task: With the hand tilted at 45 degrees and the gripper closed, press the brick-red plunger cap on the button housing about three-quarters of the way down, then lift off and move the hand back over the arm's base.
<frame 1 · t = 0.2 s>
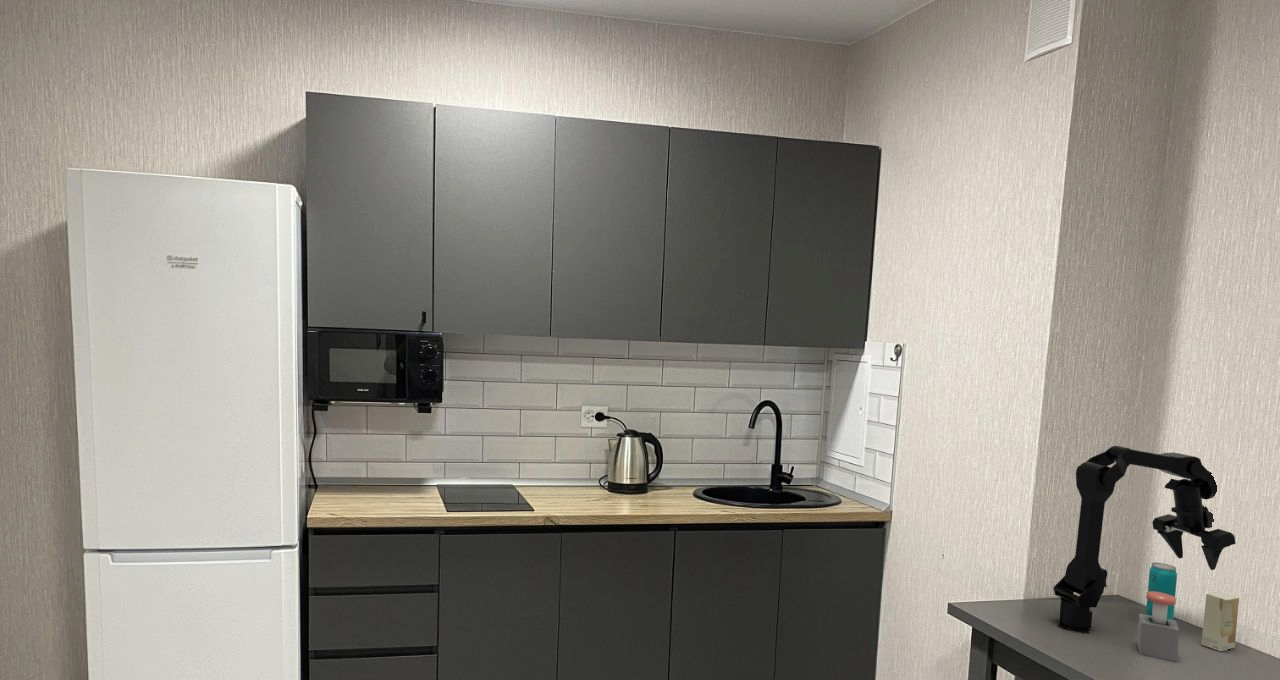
hand: (1196, 563, 200), 16 cm above the table, tool pointing down, fingers open, 9 cm apart
skincare box: (1217, 647, 187), on the table
button housing: (1156, 652, 181), on the table
red plunger: (1159, 611, 181), point 9 cm above the table, slide at 0.0 cm
beverage can: (1158, 625, 199), on the table
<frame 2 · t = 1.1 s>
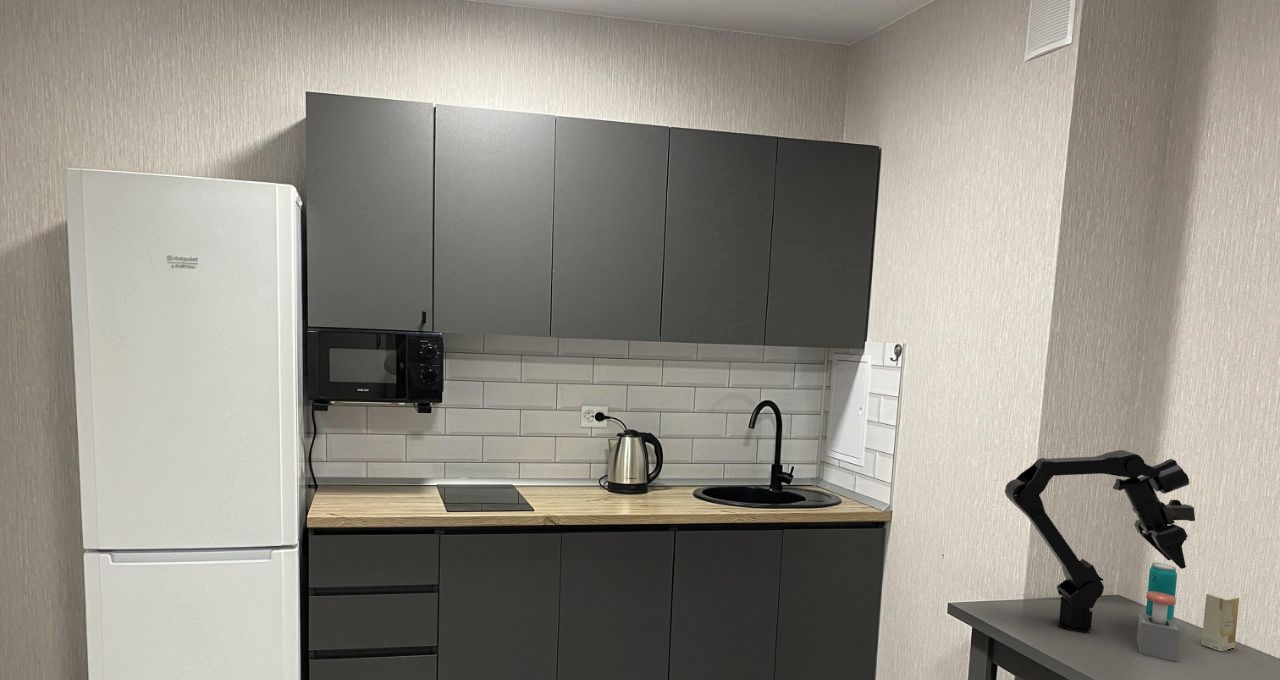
hand: (1176, 563, 188), 18 cm above the table, tool tilted 30°, fingers open, 9 cm apart
nothing on the table moved.
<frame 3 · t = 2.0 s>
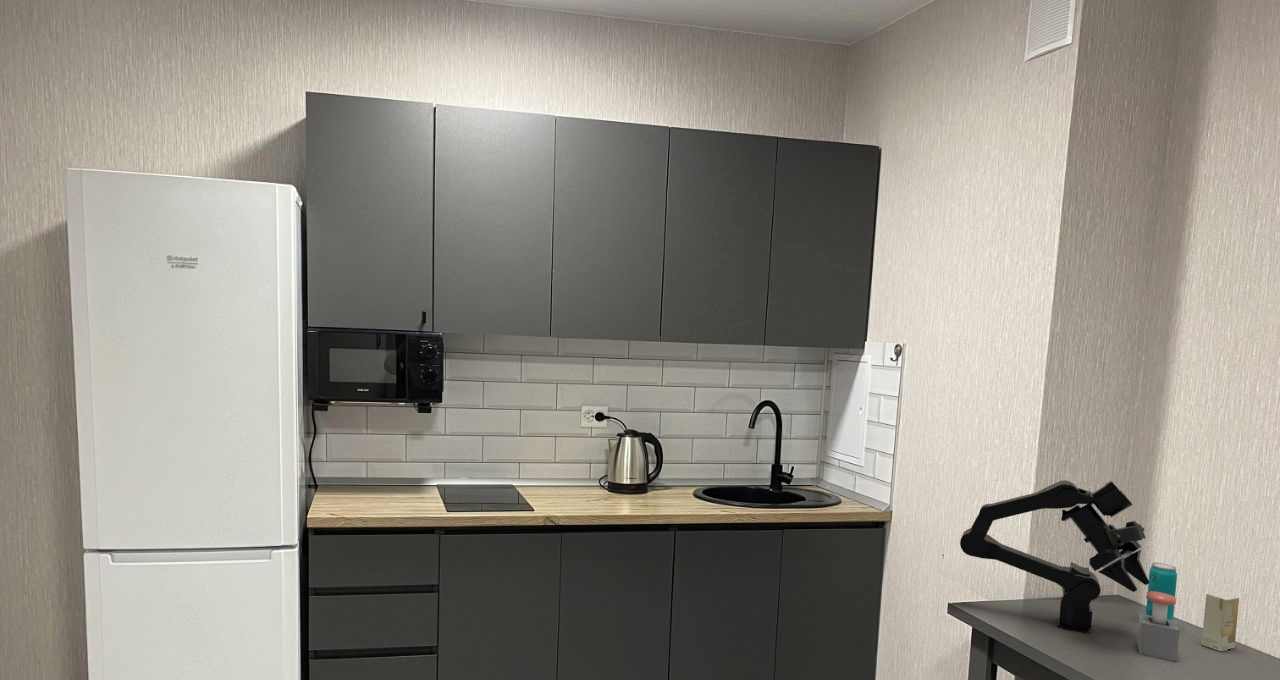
hand: (1141, 587, 184), 14 cm above the table, tool tilted 45°, fingers open, 9 cm apart
nothing on the table moved.
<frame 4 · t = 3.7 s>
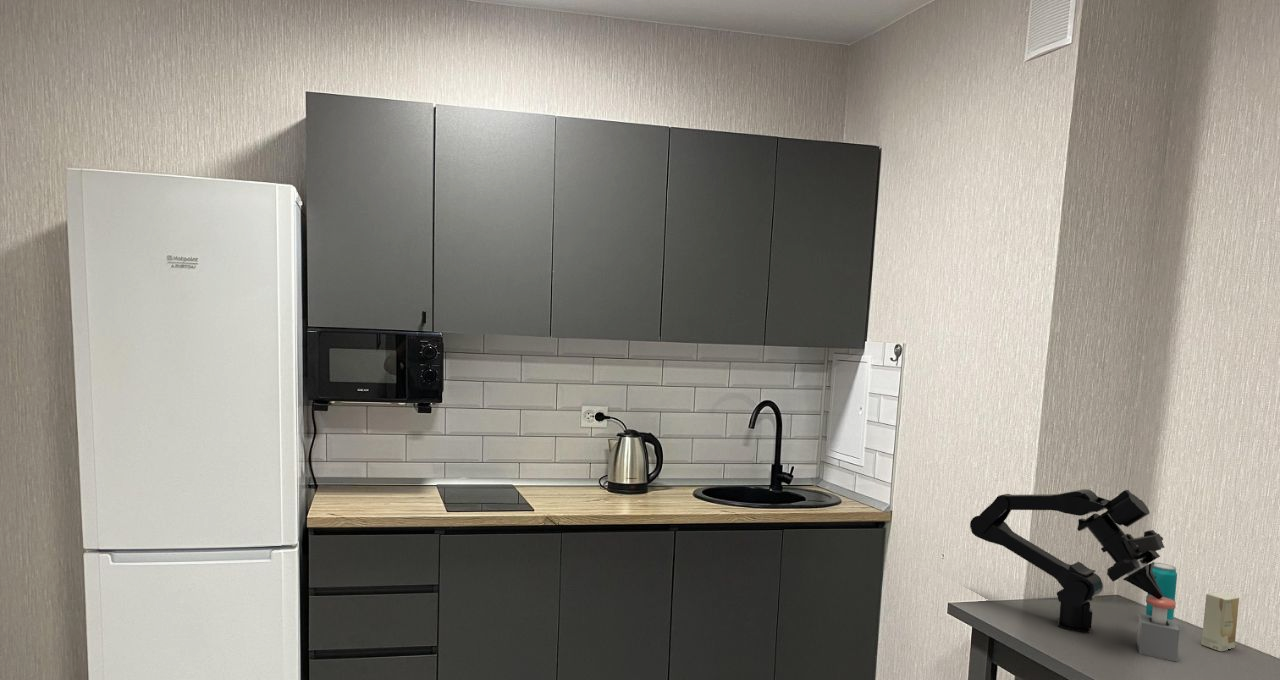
hand: (1161, 598, 180), 12 cm above the table, tool tilted 45°, fingers closed, pressing on red plunger
red plunger: (1159, 615, 181), point 8 cm above the table, slide at 0.9 cm, touching gripper
everything else where it was.
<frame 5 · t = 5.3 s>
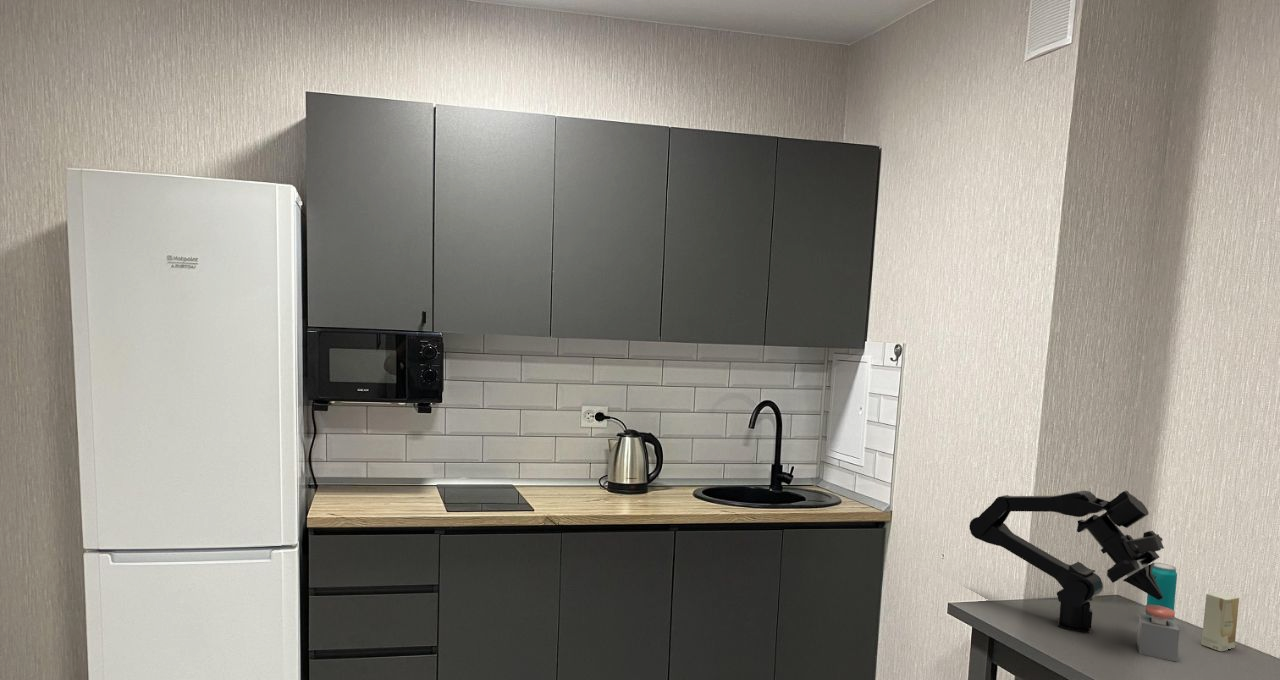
hand: (1161, 598, 180), 12 cm above the table, tool tilted 45°, fingers closed
red plunger: (1158, 625, 181), point 6 cm above the table, slide at 3.1 cm
everything else where it was.
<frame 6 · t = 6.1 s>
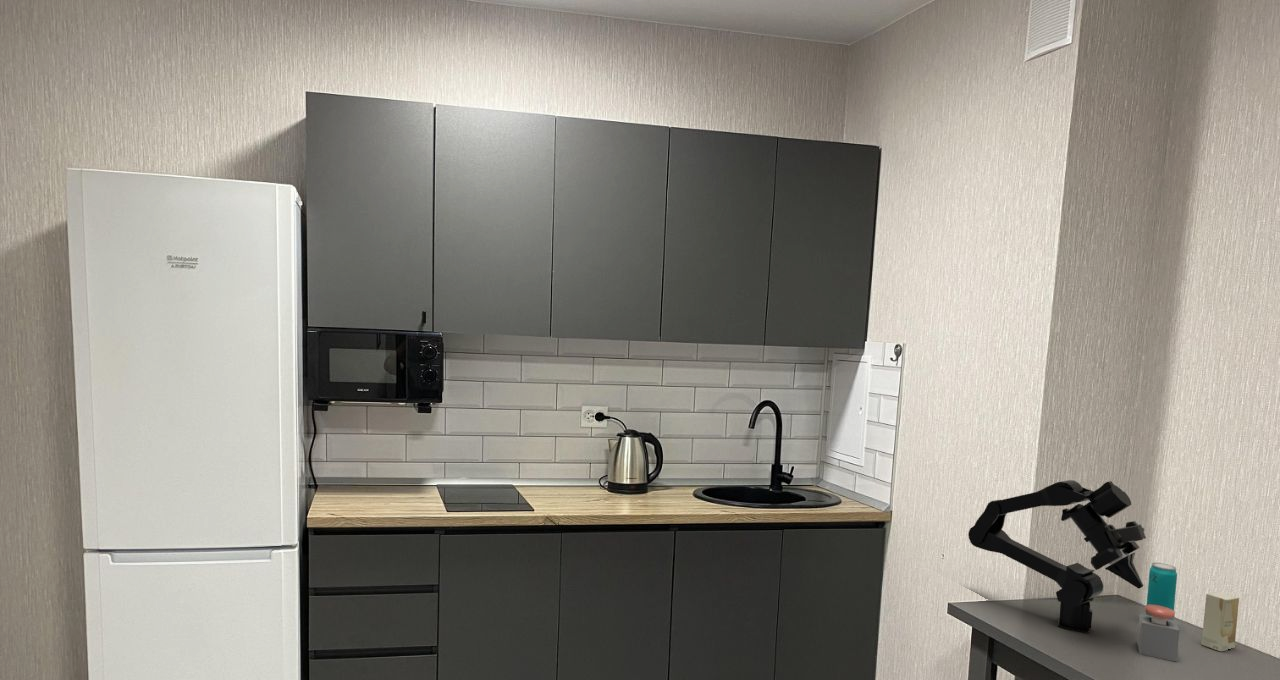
hand: (1141, 587, 184), 14 cm above the table, tool tilted 45°, fingers closed
nothing on the table moved.
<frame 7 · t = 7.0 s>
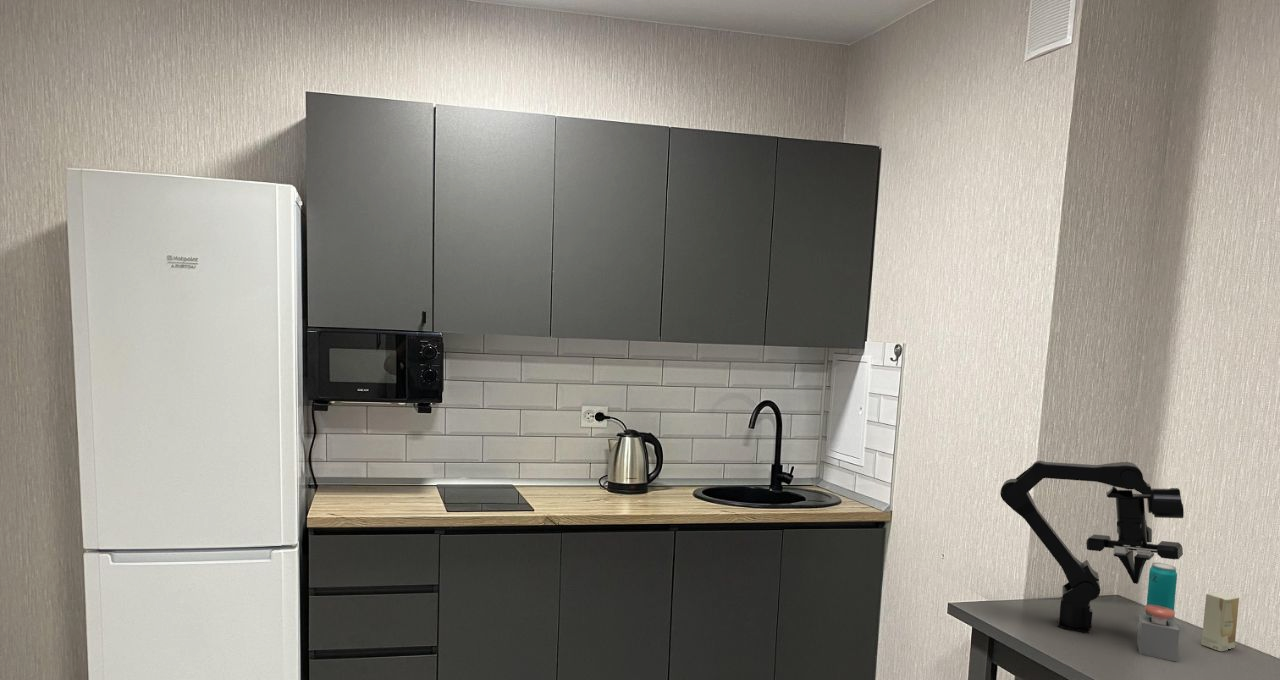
hand: (1135, 583, 188), 13 cm above the table, tool pointing down, fingers closed
nothing on the table moved.
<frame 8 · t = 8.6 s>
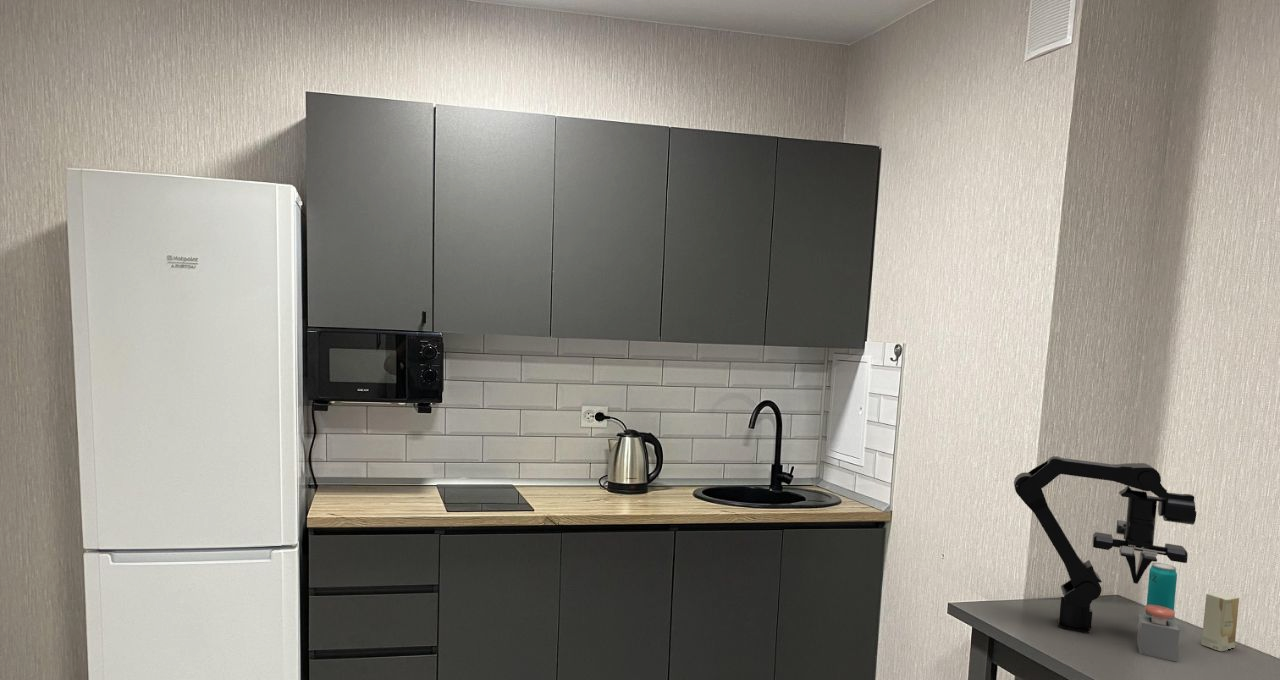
hand: (1135, 583, 189), 13 cm above the table, tool pointing down, fingers closed
nothing on the table moved.
at the end: red plunger slide at 3.1 cm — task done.
